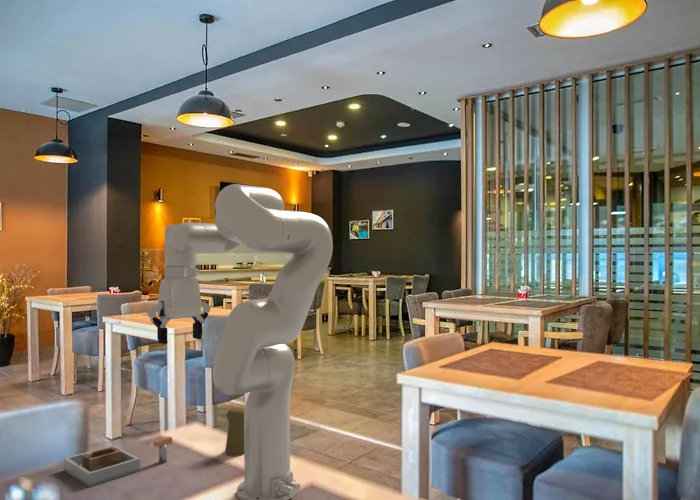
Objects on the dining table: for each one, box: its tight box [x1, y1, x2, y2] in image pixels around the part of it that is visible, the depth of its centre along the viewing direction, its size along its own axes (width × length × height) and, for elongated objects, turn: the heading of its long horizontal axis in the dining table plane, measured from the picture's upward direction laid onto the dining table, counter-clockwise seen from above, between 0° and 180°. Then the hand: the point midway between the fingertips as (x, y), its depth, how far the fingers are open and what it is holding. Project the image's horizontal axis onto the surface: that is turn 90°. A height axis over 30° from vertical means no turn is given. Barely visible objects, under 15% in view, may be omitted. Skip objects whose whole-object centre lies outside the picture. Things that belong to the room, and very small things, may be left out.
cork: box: [224, 406, 245, 457], centre depth 135 cm, size 6×6×11 cm
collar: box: [81, 446, 121, 472], centre depth 123 cm, size 7×5×4 cm
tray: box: [63, 444, 141, 488], centre depth 123 cm, size 14×12×3 cm
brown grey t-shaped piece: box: [152, 436, 173, 464], centre depth 128 cm, size 2×4×5 cm, turn 139°
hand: (180, 341), depth 135 cm, fingers open, 9 cm apart
